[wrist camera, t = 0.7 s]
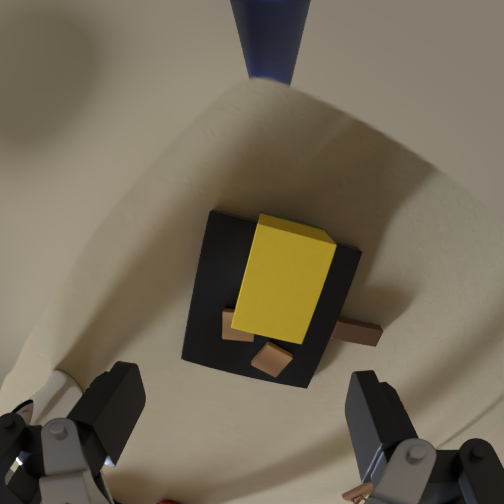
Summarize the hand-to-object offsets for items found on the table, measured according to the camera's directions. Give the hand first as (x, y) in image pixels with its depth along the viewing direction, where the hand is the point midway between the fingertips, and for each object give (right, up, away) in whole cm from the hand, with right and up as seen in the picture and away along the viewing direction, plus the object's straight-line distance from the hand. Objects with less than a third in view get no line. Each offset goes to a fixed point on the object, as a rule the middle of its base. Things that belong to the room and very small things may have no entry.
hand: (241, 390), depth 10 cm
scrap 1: (-1, -2, +18) cm, 18 cm away
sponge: (+3, +4, +16) cm, 17 cm away
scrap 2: (+2, -6, +19) cm, 20 cm away
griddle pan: (+4, -1, +19) cm, 19 cm away
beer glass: (-27, -15, +25) cm, 39 cm away
